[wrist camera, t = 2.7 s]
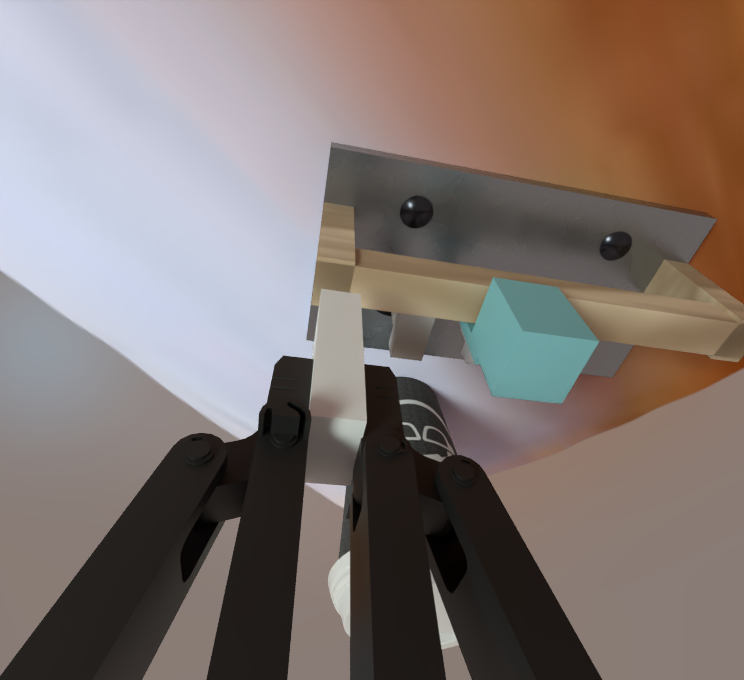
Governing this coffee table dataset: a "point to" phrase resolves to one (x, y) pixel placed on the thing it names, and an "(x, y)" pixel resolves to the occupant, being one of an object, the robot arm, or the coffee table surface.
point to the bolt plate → (503, 233)
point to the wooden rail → (470, 284)
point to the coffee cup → (427, 439)
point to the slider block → (528, 341)
